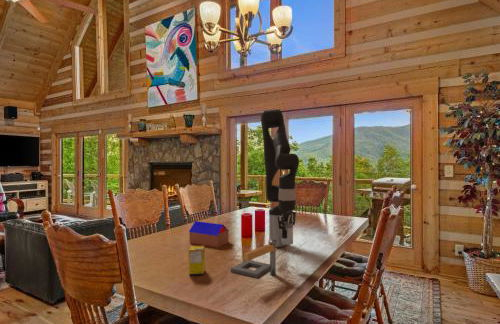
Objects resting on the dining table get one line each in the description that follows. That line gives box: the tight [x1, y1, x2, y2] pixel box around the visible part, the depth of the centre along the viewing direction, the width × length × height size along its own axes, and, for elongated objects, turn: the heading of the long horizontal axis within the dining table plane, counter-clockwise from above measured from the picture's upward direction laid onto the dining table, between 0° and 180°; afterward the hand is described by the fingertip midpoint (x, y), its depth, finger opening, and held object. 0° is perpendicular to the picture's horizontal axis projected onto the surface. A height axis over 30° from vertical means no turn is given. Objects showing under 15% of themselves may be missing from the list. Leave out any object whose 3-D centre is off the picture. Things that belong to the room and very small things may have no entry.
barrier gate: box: [243, 239, 277, 276], centre depth 124 cm, size 4×19×14 cm, turn 140°
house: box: [188, 220, 230, 248], centre depth 180 cm, size 12×20×12 cm, turn 61°
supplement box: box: [188, 245, 206, 276], centre depth 133 cm, size 6×6×11 cm
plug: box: [282, 222, 294, 246], centre depth 139 cm, size 5×5×9 cm
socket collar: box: [230, 260, 270, 279], centre depth 136 cm, size 13×13×2 cm
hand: (287, 236), depth 139 cm, fingers closed on plug, 5 cm apart
